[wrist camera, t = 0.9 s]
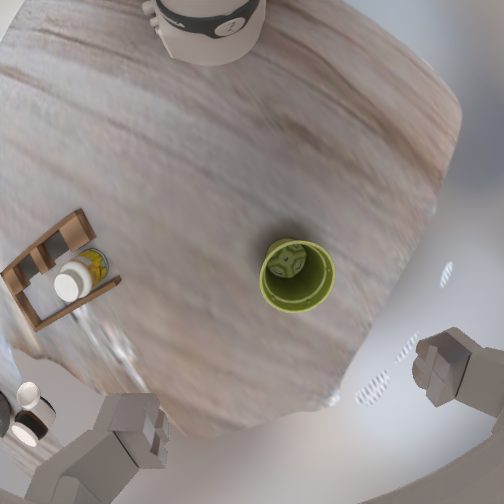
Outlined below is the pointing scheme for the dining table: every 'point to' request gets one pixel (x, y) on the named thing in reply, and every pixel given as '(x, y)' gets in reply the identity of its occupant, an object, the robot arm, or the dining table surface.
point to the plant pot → (296, 275)
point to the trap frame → (51, 265)
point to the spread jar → (32, 415)
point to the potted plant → (4, 416)
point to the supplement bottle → (81, 275)
